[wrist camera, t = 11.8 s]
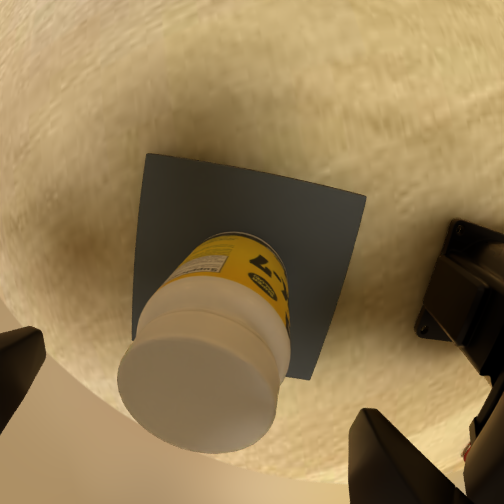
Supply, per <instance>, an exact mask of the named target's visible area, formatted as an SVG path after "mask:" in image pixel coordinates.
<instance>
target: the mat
mask: <svg viewBox="0 0 504 504" xmlns="http://www.w3.org/2000/svg"><path fill="white" fill-rule="evenodd" d="M366 198H367V197H366V196H364V195H361V194H357V193H353V192H349V191H345V190H341V189H337V188H333V187H329V186H324V185H320V184H316V183H312V182H307V181H303V180H298V179H294V178H289V177H284V176H280V175H275V174H270V173H265V172H260V171H255V170H250V169H245V168H239V167H234V166H228V165H223V164H217V163H211V162H205V161H199V160H193V159H186V158H180V157H173V156H166V155H159V154H152V153H148V154H146V160H145V167H144V174H143V181H142V189H141V197H140V206H139V215H138V225H137V236H136V248H135V262H134V279H133V303H132V341H134V339H135V338H136V333H137V325H138V321H139V318H140V315H141V313H142V311H143V309H144V307H145V305H146V304H147V302H148V301H149V299H150V298H151V297H152V296H153V295H154V293H155V292H156V291H157V290H158V289H159V288H160V287H161V286H162V284H163V283H164V282H165V281H166V280H167V279H168V278H169V277H170V275H171V274H172V273H173V272H174V271H175V270H176V269H177V268H178V267H179V265H180V264H181V263H182V262H183V261H184V260H185V259H186V258H187V257H188V256H189V255H190V254H191V253H192V252H193V250H194V249H195V248H196V247H197V246H198V245H199V244H201V243H202V242H203V241H204V240H206V239H208V238H209V237H212V236H214V235H216V234H220V233H224V232H243V233H247V234H251V235H254V236H256V237H258V238H260V239H262V240H263V241H265V242H266V243H267V244H269V245H270V246H271V247H272V248H273V249H274V250H275V252H276V253H277V254H278V255H279V257H280V259H281V260H282V262H283V264H284V267H285V270H286V273H287V278H288V295H289V317H290V339H291V354H290V362H289V367H288V371H287V373H286V376H285V377H291V378H297V379H304V380H310V379H311V376H312V373H313V371H314V368H315V365H316V363H317V360H318V357H319V354H320V352H321V349H322V346H323V343H324V340H325V338H326V335H327V332H328V329H329V326H330V323H331V320H332V317H333V314H334V311H335V308H336V305H337V302H338V299H339V295H340V292H341V289H342V286H343V282H344V279H345V276H346V273H347V269H348V266H349V262H350V259H351V255H352V252H353V248H354V245H355V241H356V237H357V234H358V230H359V226H360V222H361V218H362V215H363V211H364V207H365V202H366Z"/></svg>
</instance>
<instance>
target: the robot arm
mask: <svg viewBox="0 0 504 504" xmlns="http://www.w3.org/2000/svg"><path fill="white" fill-rule="evenodd" d="M459 225H460V226H461V230H460V231H459V232H458V233H457V227H458V226H459ZM423 326H426V327H425V329H423V330H421V328H422V327H423ZM414 331H415V333H416V334H417V335H418V337H420V338H426V339H434V340H442V341H450V342H453V343H454V344H455V345H456V346H457V347H459V348H460V349H461V351H462V352H463V353H464V355H465V356H466V357H467V358H468V360H469V361H470V362H471V364H472V365H473V366H474V368H475V369H476V370H477V372H478V373H479V374H480V375H481V376H484V377H485V379H486V380H487V381H488V383H489V384H490V386H491V387H492V389H491V391H490V393H489V395H488V397H487V399H486V401H485V403H484V405H483V407H482V409H481V410H480V412H479V414H478V416H476V417H475V418H474V419H473V421H472V423H471V424H470V426H469V431H470V441H471V449H470V451H469V452H468V454H467V456H466V461H465V467H464V472H463V476H464V482H465V489H466V495H467V496H466V495H464V493H462V491H460V490H459V489H458V488H457V487H455V485H454V484H453V483H452V482H451V481H450V480H449V479H448V478H447V477H445V475H444V474H443V473H442V472H441V471H440V470H439V469H437V468H436V467H435V466H434V465H433V464H432V463H431V462H430V461H429V460H428V459H427V458H426V457H425V456H424V455H423V454H422V453H421V452H420V451H419V450H418V449H417V448H416V447H415V446H414V445H413V444H412V443H411V442H410V441H409V440H408V439H407V438H406V437H405V436H404V435H403V434H402V433H401V432H400V431H399V430H398V429H397V428H396V427H395V426H394V425H393V424H392V423H391V422H390V421H389V420H388V419H386V418H385V417H384V416H383V415H382V414H381V413H380V412H379V411H378V410H377V409H374V408H362V409H361V410H360V412H359V413H358V415H357V417H356V419H355V420H354V422H353V424H352V426H351V428H350V430H349V461H348V484H349V495H350V504H504V234H501V233H499V232H496V231H493V230H490V229H488V228H485V227H482V226H479V225H477V224H474V223H471V222H468V221H465V220H462V219H459V218H456V219H454V220H453V221H452V222H451V223H450V225H449V229H448V232H447V236H446V239H445V242H444V246H443V249H442V252H441V255H440V257H439V258H438V259H437V262H436V266H435V268H434V271H433V274H432V277H431V280H430V283H429V286H428V288H427V291H426V294H425V296H424V299H423V306H422V308H421V311H420V313H419V316H418V318H417V321H416V323H415V326H414ZM45 358H46V350H45V344H44V338H43V333H42V331H41V330H39V329H37V328H35V327H32V326H27V327H23V328H20V329H16V330H12V331H8V332H4V333H0V434H1V433H2V431H3V430H4V428H5V426H6V425H7V423H8V422H9V420H10V419H11V417H12V415H13V414H14V412H15V411H16V410H17V408H18V407H19V405H20V404H21V402H22V400H23V399H24V397H25V395H26V394H27V392H28V390H29V388H30V386H31V384H32V382H33V381H34V379H35V376H36V375H37V373H38V372H39V370H40V368H41V366H42V364H43V363H44V361H45Z"/></svg>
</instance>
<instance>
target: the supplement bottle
mask: <svg viewBox="0 0 504 504" xmlns="http://www.w3.org/2000/svg"><path fill="white" fill-rule="evenodd" d="M290 354H291V339H290V317H289V295H288V278H287V273H286V270H285V267H284V264H283V262H282V260H281V259H280V257H279V255H278V254H277V253H276V252H275V250H274V249H273V248H272V247H271V246H270V245H269V244H267V243H266V242H265V241H263V240H262V239H260V238H258V237H256V236H254V235H251V234H247V233H243V232H224V233H220V234H216V235H214V236H212V237H209V238H208V239H206V240H204V241H203V242H202V243H201V244H199V245H198V246H197V247H196V248H195V249H194V250H193V252H192V253H191V254H190V255H189V256H188V257H187V258H186V259H185V260H184V261H183V262H182V263H181V264H180V265H179V267H178V268H177V269H176V270H175V271H174V272H173V273H172V274H171V275H170V277H169V278H168V279H167V280H166V281H165V282H164V283H163V284H162V286H161V287H160V288H159V289H158V290H157V291H156V292H155V293H154V295H153V296H152V297H151V298H150V299H149V301H148V302H147V304H146V305H145V307H144V309H143V311H142V313H141V315H140V318H139V321H138V325H137V333H136V338H135V339H134V341H133V343H132V344H131V346H130V347H129V349H128V350H127V352H126V353H125V355H124V356H123V358H122V360H121V362H120V365H119V368H118V376H117V383H118V389H119V393H120V396H121V398H122V401H123V403H124V405H125V407H126V408H127V410H128V411H129V412H130V414H131V415H132V416H133V418H134V419H135V420H136V421H137V422H138V423H139V424H140V425H141V426H142V427H143V428H145V429H146V430H147V431H148V432H150V433H152V434H153V435H154V436H156V437H157V438H159V439H161V440H163V441H164V442H167V443H169V444H171V445H174V446H176V447H179V448H182V449H185V450H189V451H193V452H200V453H209V454H218V453H228V452H234V451H238V450H242V449H244V448H246V447H249V446H251V445H253V444H254V443H256V442H257V441H259V440H260V439H261V438H262V437H263V436H264V435H265V434H266V433H267V432H268V430H269V429H270V427H271V425H272V423H273V421H274V418H275V414H276V407H277V399H278V393H279V388H280V385H281V383H282V382H283V380H284V378H285V376H286V373H287V371H288V367H289V362H290Z"/></svg>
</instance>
